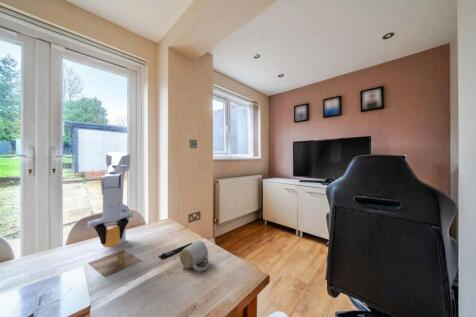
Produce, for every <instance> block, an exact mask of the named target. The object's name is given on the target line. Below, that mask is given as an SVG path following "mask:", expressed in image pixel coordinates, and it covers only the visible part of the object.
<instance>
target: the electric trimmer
mask: <svg viewBox="0 0 476 317" xmlns="http://www.w3.org/2000/svg"><path fill="white" fill-rule="evenodd" d="M193 243H194V242H190V243H187V244H184V245H182V246H180V247H177V248H174V249H172V250H170V251H168V252H163V253H162V254H160V255H159V256H158V258H159V259H160V260H161V261H163V260H166V259H168V258H171V257H172V256H174V255H176V254H179V253H181V251H182V250H183V249H184V248H186V247H187V246H189V245H191V244H193Z"/></svg>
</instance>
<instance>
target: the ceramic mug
mask: <svg viewBox="0 0 476 317" xmlns="http://www.w3.org/2000/svg"><path fill="white" fill-rule="evenodd" d="M192 243H193V244H191V245H189V246H187V247H186V248H184V249H183V250H182V251H181V252H179V253H180V254H179V258H180V263H181V264H182V266H183V267H184V269H192V268H193V269H194V270H195V271H196V272H198V273H199V272H201V273H203V272H205V271H206V270H208V268H209V266H210V261H209V258H208V256H209V250H208V247H207V246H206V243H205V242H204V241H202V240H196V241H194V242H192ZM204 261H205V262H206V264H207V265H206V266H205V267H198V265H200V264H201V263H202V262H204Z"/></svg>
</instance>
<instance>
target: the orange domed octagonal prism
mask: <svg viewBox="0 0 476 317" xmlns="http://www.w3.org/2000/svg"><path fill="white" fill-rule="evenodd" d="M119 243H120V227H119V226H111V227H107V229H106V243H105V244H104V245H102V246H103V247H104V248H110V247H114V246H117V245H120V244H119Z"/></svg>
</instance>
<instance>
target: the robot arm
mask: <svg viewBox="0 0 476 317" xmlns="http://www.w3.org/2000/svg"><path fill="white" fill-rule="evenodd" d="M105 161H106V162H105V163H106V171H105V173H104V175H102V176H101V179H100V188H101V195H102V217H100V218H96V219H93V220H89V221H87V228H88V229H92V228H93V229H94V230H95V231H96V233H97V235H98V237H99V240H100V244H101V245H102V246H103V245H104V244H105V243H106V229H107V227H111V226H119V227H120V243H119V244H118V245H121V244H123V243H125V242H126V238H127V235H126V233H127V231H126V230H127V225H129V222H130V219H132V218H133V216H134V214H133V212H132V211H130V207H129V206H128V205H126V204H124V201H123V200H124V183H125V182H124V180H125V179H124V178H125V175H126V172H128V171H130V168H131V153H130V152H107V153H106V156H105Z"/></svg>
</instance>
